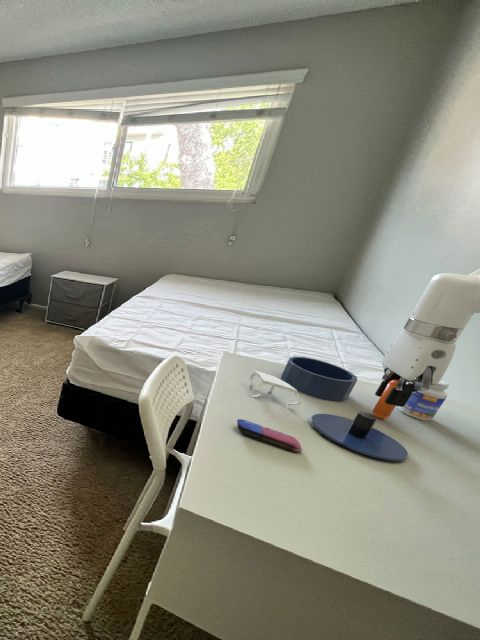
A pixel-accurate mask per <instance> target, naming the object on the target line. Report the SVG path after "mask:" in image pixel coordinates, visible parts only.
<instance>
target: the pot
mask: <svg viewBox="0 0 480 640" xmlns="http://www.w3.org/2000/svg"><path fill="white" fill-rule="evenodd" d="M280 380H282V381H284V382H286V383H288V384H289V385H291V386H292V387H293V388H295V389H296V390H297V391H298V392H300V393H302V394H305V395H307V396H310V397H314V398H318V399H320V400H325V401H330V402H345V401H346V400H347V399H348V398H349V397H350V395H351V393H352V391H353V389H354V387H355V385H356V384H357V382H358V376H357V375H355V374H354V373H353V372H351V371H350V370H347V369H345V368H343V367H341V366H338V365H335V364H332V363H330V362H327V361H323V360H320V359H316V358H311V357H306V356H292V357H289V358H288V360H287V362H286V365H285V367H284V369H283V371H282V373H281V376H280Z"/></svg>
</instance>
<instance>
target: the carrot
mask: <svg viewBox="0 0 480 640" xmlns="http://www.w3.org/2000/svg"><path fill="white" fill-rule="evenodd" d="M398 382H399V380H392V381H390V382H389V383H388V385H387V387H386V388H385V390H384V392H383V393H382V395H381V397H379V399H378V400H377V402H376V403H375V404H374V407H373V409H372V415H373V416H375V417H376V418H377V419H388V418H389V417H390V416H391V415H392V413H393V412H394V410H395V409H396V407H397V406H395V405H391V404H387V403H385V400H386V398H387V396H388V395H389V393H390V391H391V390H392V388H396V386H397V384H398Z"/></svg>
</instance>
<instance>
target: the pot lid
mask: <svg viewBox="0 0 480 640" xmlns="http://www.w3.org/2000/svg"><path fill="white" fill-rule="evenodd" d="M377 420H378V417H376V416H374V414H371V413H369V412H366V411H357V413H356V415H355V416H354V419H351V418H347V417H344V416H340V415H337V414H336V415H335V414H329V413H316V414H313V415H311V417H310V423H311V425H312V427H314V428H315V430H317V432H319V433H320V434H321V435H323V436H324V437H326V438H328V439H329V440H331V441H333V442H334V443H337V444H338V445H341V446H342V447H344V448H346V449H349V450H351V451H354V452H356V453H360V454H362V455H364V456H368V457H370V458H375V459H379V460H383V461H390V462H400V461H401V462H402V461H405V460H406V459H407V458H408V457H409V453H408V451H407V449H406V448H405V447H404V445H402V444H401V443H400V442H399V441H397V440H396V439H394V438H393V437H391V436H390V435H388V434H386V433H384V432H383V431H381V430H378V429H377V428H375V427H374V425H375V424H376V423H377Z"/></svg>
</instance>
